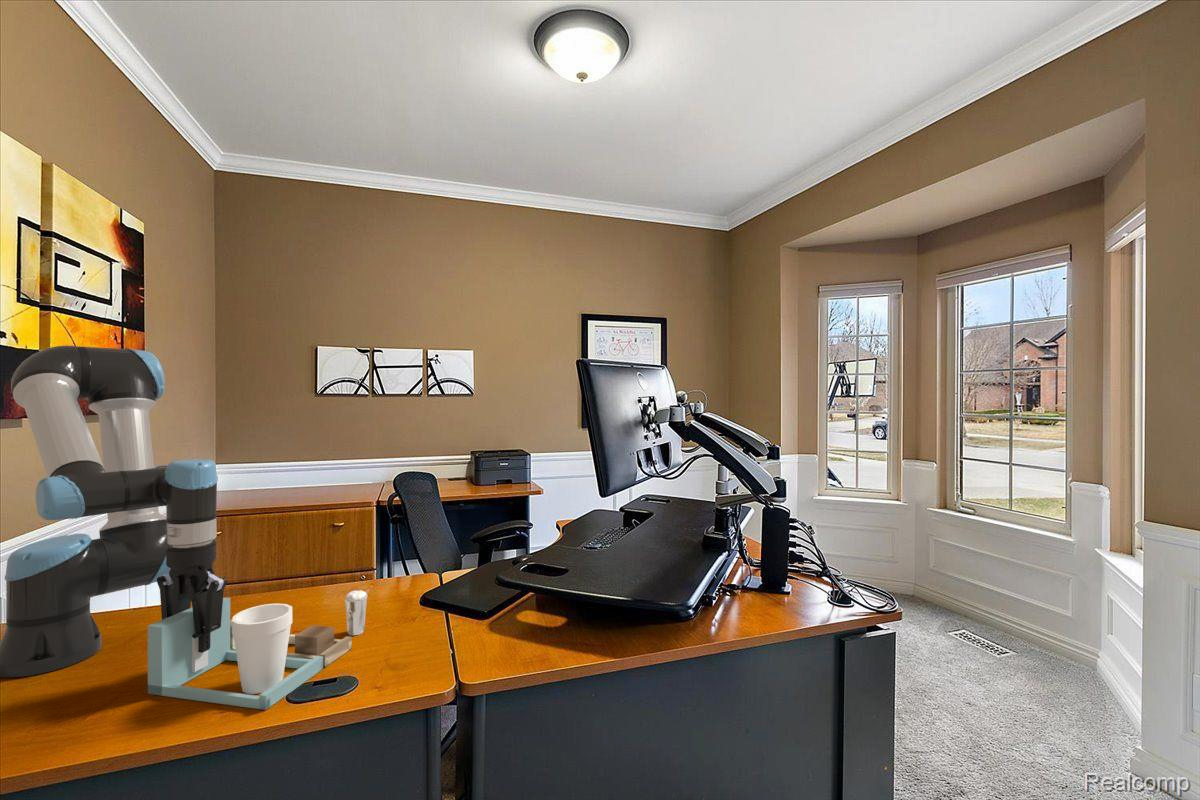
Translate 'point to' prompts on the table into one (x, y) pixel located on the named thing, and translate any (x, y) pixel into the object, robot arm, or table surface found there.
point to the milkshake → (356, 611)
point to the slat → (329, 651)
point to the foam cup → (261, 645)
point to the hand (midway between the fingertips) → (191, 666)
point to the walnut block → (314, 640)
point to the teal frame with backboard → (209, 663)
